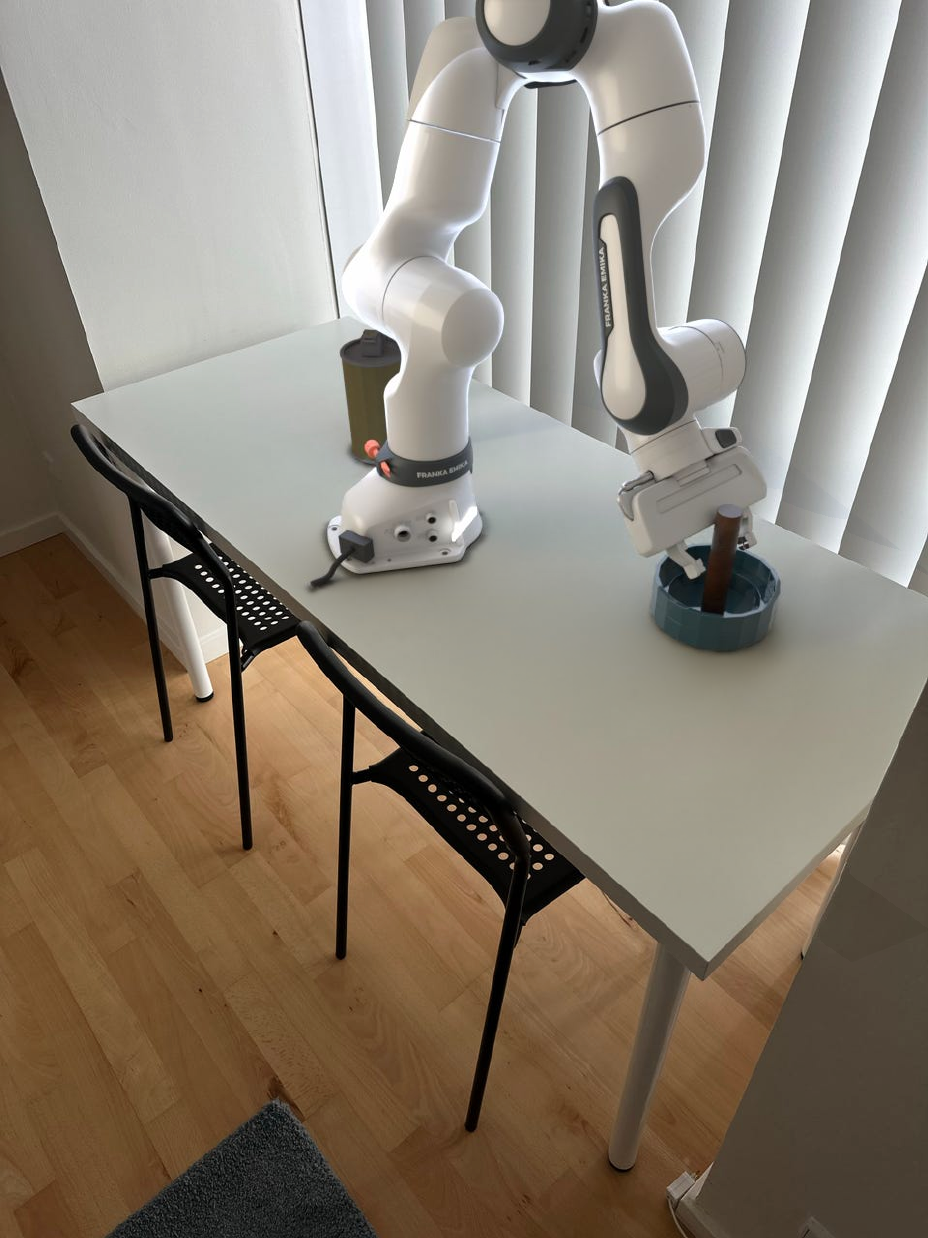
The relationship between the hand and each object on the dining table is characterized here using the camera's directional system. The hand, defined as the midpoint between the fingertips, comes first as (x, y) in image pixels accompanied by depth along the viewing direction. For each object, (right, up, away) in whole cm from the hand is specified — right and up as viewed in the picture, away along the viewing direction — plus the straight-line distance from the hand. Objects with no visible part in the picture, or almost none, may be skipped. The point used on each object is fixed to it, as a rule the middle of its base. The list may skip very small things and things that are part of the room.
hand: (724, 561), depth 115 cm
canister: (-45, +21, +42) cm, 65 cm away
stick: (0, -6, +6) cm, 8 cm away
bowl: (0, -6, +6) cm, 9 cm away
